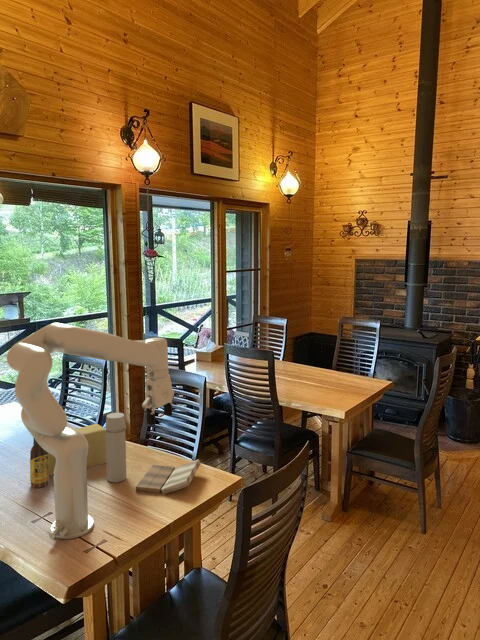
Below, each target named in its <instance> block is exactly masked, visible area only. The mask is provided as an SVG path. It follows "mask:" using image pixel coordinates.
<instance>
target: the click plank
mask: <svg viewBox="0 0 480 640" xmlns="http://www.w3.org/2000/svg"><path fill="white" fill-rule="evenodd" d="M200 466H201V461H200V459H199V458H198V459H196V460H194V461H190V462H188V463H187V462H186V463H184V464H182V465H179V466H176V467H175V470H174V471H173V473H172V474H171V476H170V477H169V479H168V480H167V481H166V483H165V484H164V486H163V487H162V489H161V490H162V492H161V493H162V495H166V494H169V493H172V492H175V491H178V490H181V489H183V488H186V487H189V485H190V483H191V482H192V480H193V479H194V477H195V475H196V473H197V471H198V469H199V468H200Z"/></svg>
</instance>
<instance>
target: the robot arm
mask: <svg viewBox="0 0 480 640" xmlns="http://www.w3.org/2000/svg"><path fill="white" fill-rule="evenodd" d="M55 351H56V352H59V353H62V354H67V355H71V356H78V357H84V358H91V359H95V360H101V361H107V362H115V363H121V364H122V363H124V364H127V365H128V364H129V365H135V366H141V367H146V383H145V400H144V401H143V402H142V403H141V407H142V409H143V412H144V413H145V414H146V424H147V425H151V426H155V425H156V414H155V411H156V409H159V408H161V407H163V415H165V416H170V417H171V416H173V406H172V405H173V404H174V402H173V400H174V398H175V397H174V396H175V390H174V389H173V386H172V380H171V375H170V374H169V355H168V353H169V352H168V341H167V339H166V338H164V337H152V338H151V337H150V338H147V339H140V340H139V339H137V340H136V339H135V340H133V339H128V338H124V337H121V336H118V335H116V334H112V333H109V332H106V331H98V330H94V329H89V328H85V327H81V326H75V325H70V324H65V323H62V322H61V323H60V322H53V323H50V324H47V325H45V326H44V327H41V328H40V329H37V331H35V332H33V333H31V334H30V335H28V336H26V337H24V338H22V339H21V340H19V341H17V342H16V343H14V344H13V345H12V346H11V348H10V349H9V350H8V352H7V354H6V362H7V365H8V366H9V367H10V368H11V369H12V370H14V371H15V372H18V375H17V377H16V381H15V385H14V387H15V388H14V393H15V397H16V399H17V401H18V403H19V404H20V406H21V408H22V409H21V411H20V417H21V421H22V423H23V425H24V427H25V428H26V430H27V431H28V432H29V434H30V435H31V436H32V437H34V438H33V440H34V439H35V440H36V441H37V443H38V444H39V445H40V446H41V447H42V448H43V449H44V450H45V451H46V452H48V453H50V454H51V455H53V456H54V457H55V458H56V465H55V468H54V475H52V476H53V478H52V479H53V489H54V490H53V492H54V494H53V495H54V508H55V509H54V512H55V516H54V517H55V520H54V522H52V524H51V525H50V532H49V533H48V537H49V538H50V539H52V540H53V539H55V538H56V539H60V540H72V539H76V538H79V537H82V536H84V535H86V534H87V533H89V532H90V531H92V529H93V527H94V519H93V517H92V516H90V515H89V503H88V500H89V499H88V479H87V477H88V475H87V467H86V463H87V455H88V441H87V439H86V437H85V436H84V435H83V434H82V433H80V432H79V431H77V430H76V429H75V428H73V427H70V426H68V417H67V414H66V411H65V410H64V408H63V406H61V405H60V403H59V402H58V400H57V398H56V397H55V396H54V395H53V393H52V392H51V390H50V387H49V385H48V378H49V375H50V373H51V371H52V367H53V357H52V355H51V354H52V353H54V352H55Z"/></svg>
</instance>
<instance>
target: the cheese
mask: <svg viewBox="0 0 480 640" xmlns="http://www.w3.org/2000/svg"><path fill="white" fill-rule="evenodd" d="M75 430H77V431H79V432H80V433H82V434H83V435H84V436H85V437H86V439H87V441H88V455H87V463H86V468H89V467H94V466H98V465H99V466H100V465H104V464H107V461H106V429H105V427H104V426H101V425H100V424H98V423H93V424H90V425H87V426H82V427H79V428H76V429H75ZM55 465H56V458H55V457H54V456H53V455H51V454H50V453H48V470H49V476H53V474H54V468H55Z"/></svg>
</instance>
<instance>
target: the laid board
mask: <svg viewBox="0 0 480 640" xmlns="http://www.w3.org/2000/svg"><path fill="white" fill-rule="evenodd" d="M175 468H176V467H175V466H169V465H158V464H157V465H156V464H153V465H151V467H150V468H149V469H148V471H147V472H146V473H145V474H144V475H143V477H142V478H141V479H140V480H139V482H138V483H137V484H136V485H135V493H144V494H155V495H161V493H162V490H161V489H162V487H163V486H164V484H165V483H166V481H167V480H168V479H169V477H170V476H171V474H172V473H173V471H174V470H175Z"/></svg>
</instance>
